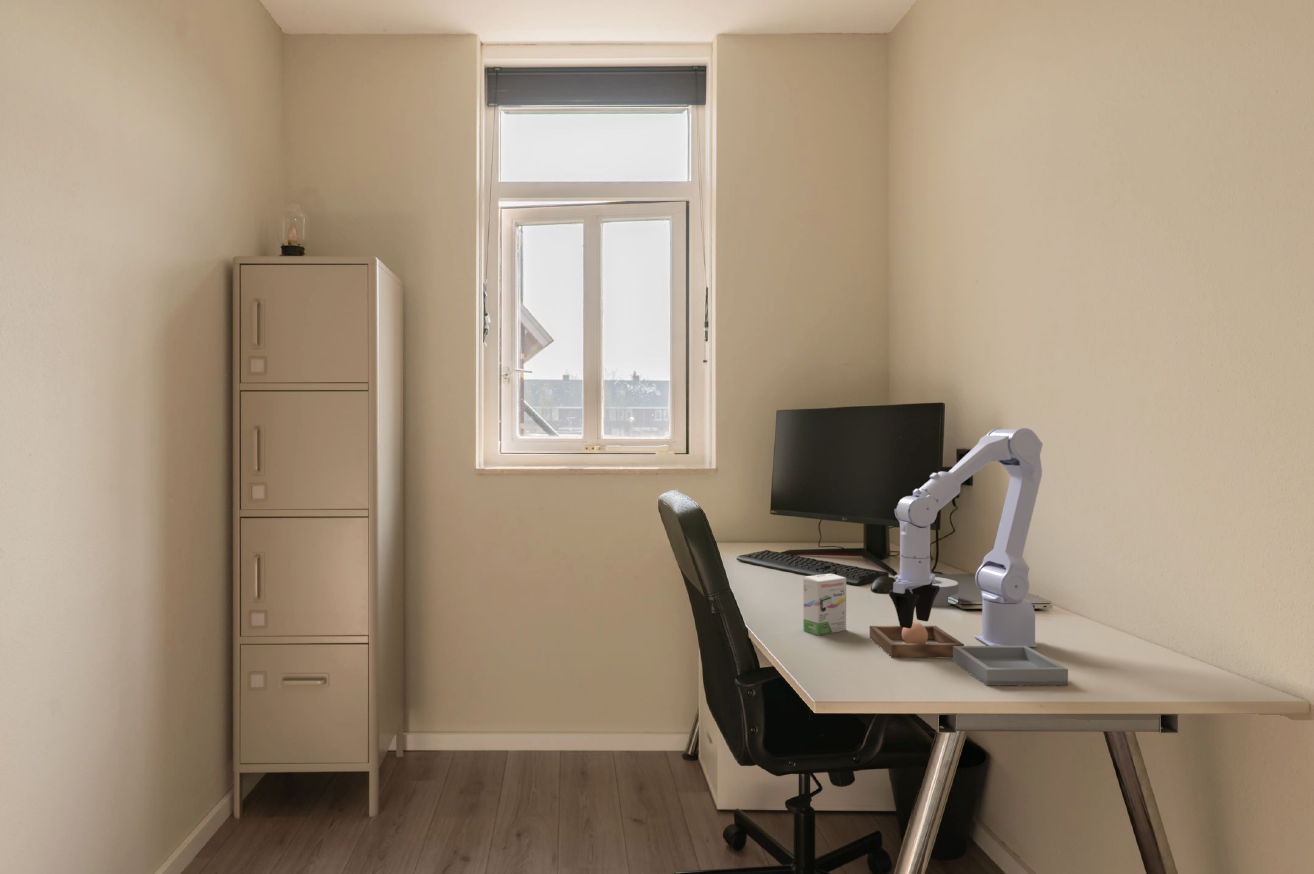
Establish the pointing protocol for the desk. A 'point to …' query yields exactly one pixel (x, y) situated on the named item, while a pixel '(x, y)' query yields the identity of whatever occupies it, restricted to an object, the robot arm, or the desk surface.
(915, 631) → the ball
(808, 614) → the ink box
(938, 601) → the tape roll
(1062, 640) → the desk surface
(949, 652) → the square wooden frame
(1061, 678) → the tray
